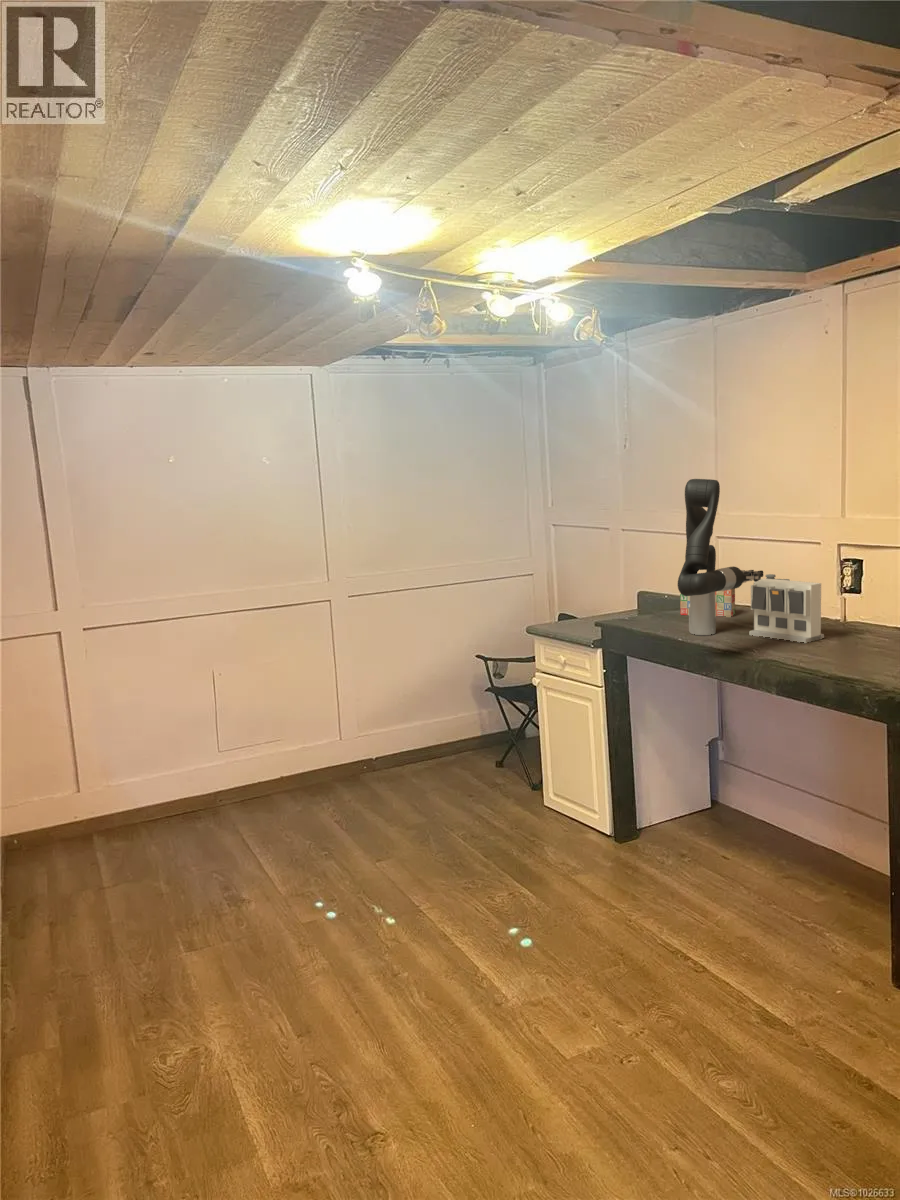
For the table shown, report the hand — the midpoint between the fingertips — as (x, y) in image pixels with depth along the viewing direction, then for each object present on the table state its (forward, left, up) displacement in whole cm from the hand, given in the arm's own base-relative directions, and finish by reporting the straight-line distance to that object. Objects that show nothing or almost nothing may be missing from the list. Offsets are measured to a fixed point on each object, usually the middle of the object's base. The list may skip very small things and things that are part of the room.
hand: (757, 573), depth 311 cm
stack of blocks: (-58, +22, -25) cm, 67 cm away
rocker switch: (-10, +9, -15) cm, 20 cm away
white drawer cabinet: (-4, +17, -25) cm, 30 cm away
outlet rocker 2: (+4, +14, -15) cm, 21 cm away
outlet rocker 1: (-3, +12, -15) cm, 20 cm away
